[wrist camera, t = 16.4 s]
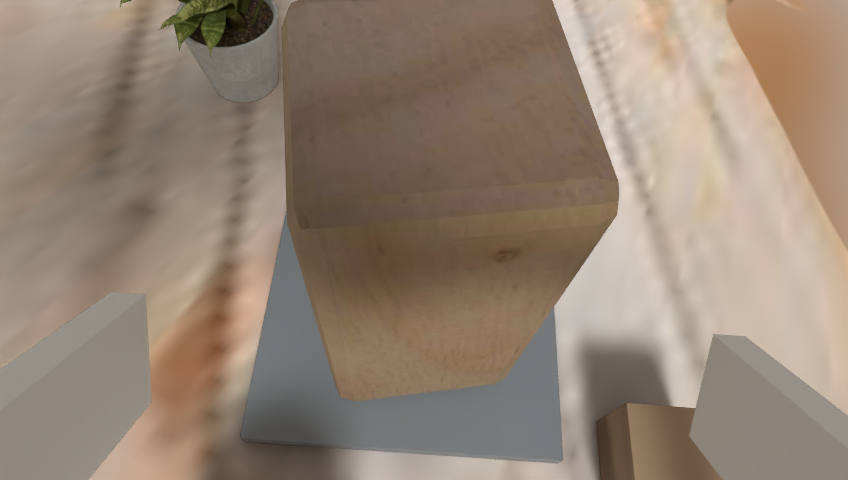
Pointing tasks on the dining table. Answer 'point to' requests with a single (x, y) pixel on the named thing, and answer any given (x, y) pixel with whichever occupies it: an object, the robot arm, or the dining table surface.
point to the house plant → (231, 44)
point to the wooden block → (436, 184)
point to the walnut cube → (650, 445)
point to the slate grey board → (401, 415)
